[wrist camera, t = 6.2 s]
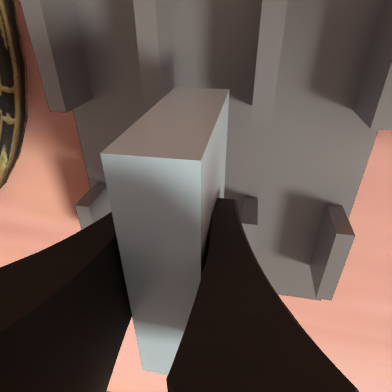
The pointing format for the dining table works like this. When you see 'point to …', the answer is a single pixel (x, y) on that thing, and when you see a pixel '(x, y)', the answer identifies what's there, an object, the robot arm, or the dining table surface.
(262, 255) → the grey slotted organizer
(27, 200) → the dining table surface
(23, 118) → the decorative plate
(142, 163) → the grey rectangular block
